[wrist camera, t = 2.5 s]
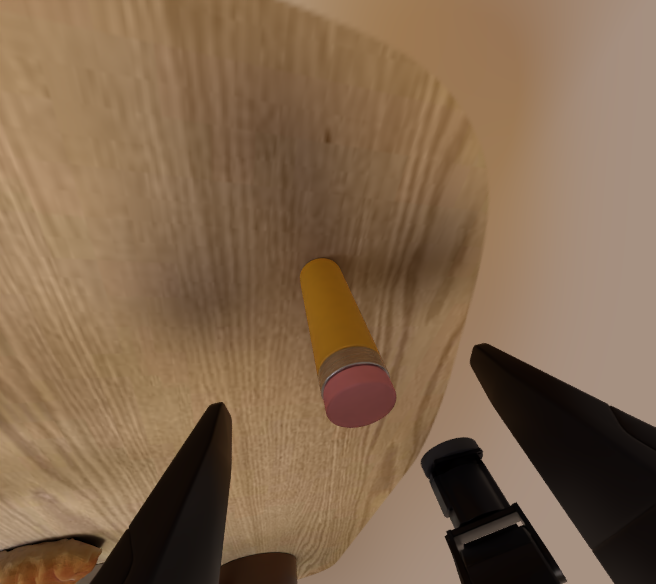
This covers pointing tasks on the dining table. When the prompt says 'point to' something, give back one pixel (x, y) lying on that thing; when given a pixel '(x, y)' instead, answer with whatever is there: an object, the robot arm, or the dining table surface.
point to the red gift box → (89, 575)
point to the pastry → (48, 563)
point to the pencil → (344, 349)
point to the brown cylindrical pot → (260, 570)
